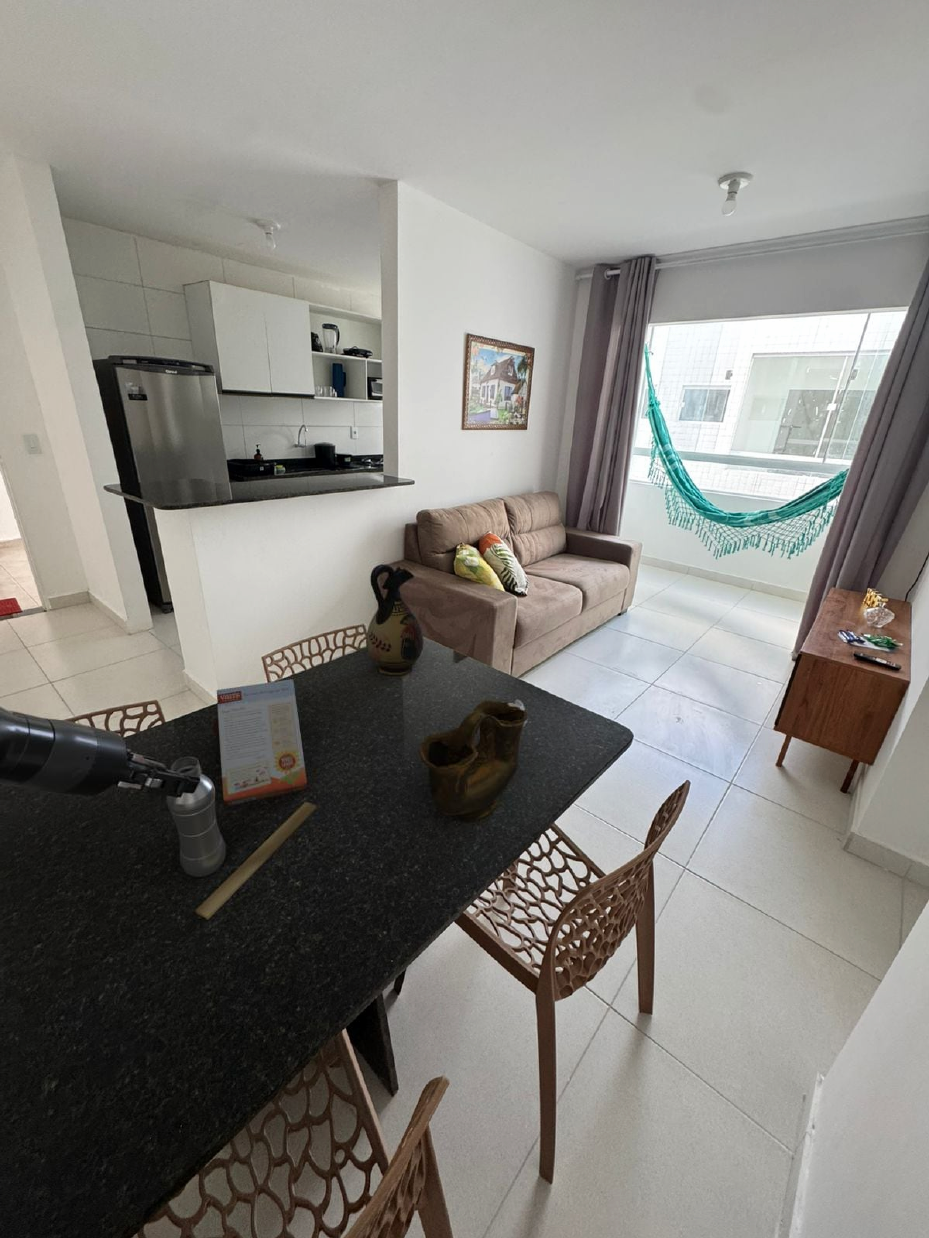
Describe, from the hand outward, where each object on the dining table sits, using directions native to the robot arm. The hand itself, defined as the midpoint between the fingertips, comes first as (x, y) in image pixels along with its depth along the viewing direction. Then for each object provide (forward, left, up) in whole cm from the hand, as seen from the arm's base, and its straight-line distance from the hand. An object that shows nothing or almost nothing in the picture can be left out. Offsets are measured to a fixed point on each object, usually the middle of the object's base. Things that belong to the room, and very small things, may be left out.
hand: (173, 775), depth 72 cm
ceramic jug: (-7, +70, -20) cm, 73 cm away
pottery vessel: (+33, +33, -20) cm, 51 cm away
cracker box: (0, +16, -17) cm, 24 cm away
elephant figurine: (+31, +60, -20) cm, 71 cm away
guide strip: (+7, +7, -19) cm, 22 cm away
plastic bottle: (0, +2, -20) cm, 20 cm away
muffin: (-16, +26, -20) cm, 36 cm away
